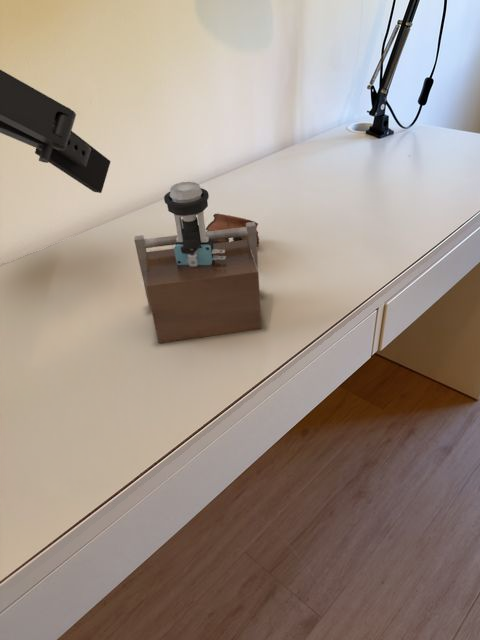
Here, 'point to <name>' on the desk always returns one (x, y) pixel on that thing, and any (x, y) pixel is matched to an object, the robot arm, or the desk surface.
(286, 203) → the desk surface
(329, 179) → the desk surface
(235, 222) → the pottery mug
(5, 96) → the robot arm
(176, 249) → the push button
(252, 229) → the box
